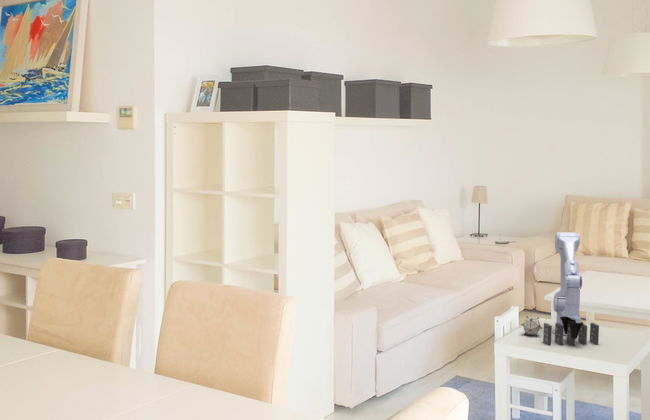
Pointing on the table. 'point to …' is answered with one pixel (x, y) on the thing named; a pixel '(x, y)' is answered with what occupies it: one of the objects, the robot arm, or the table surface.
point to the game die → (531, 326)
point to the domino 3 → (569, 336)
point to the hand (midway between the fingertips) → (570, 336)
